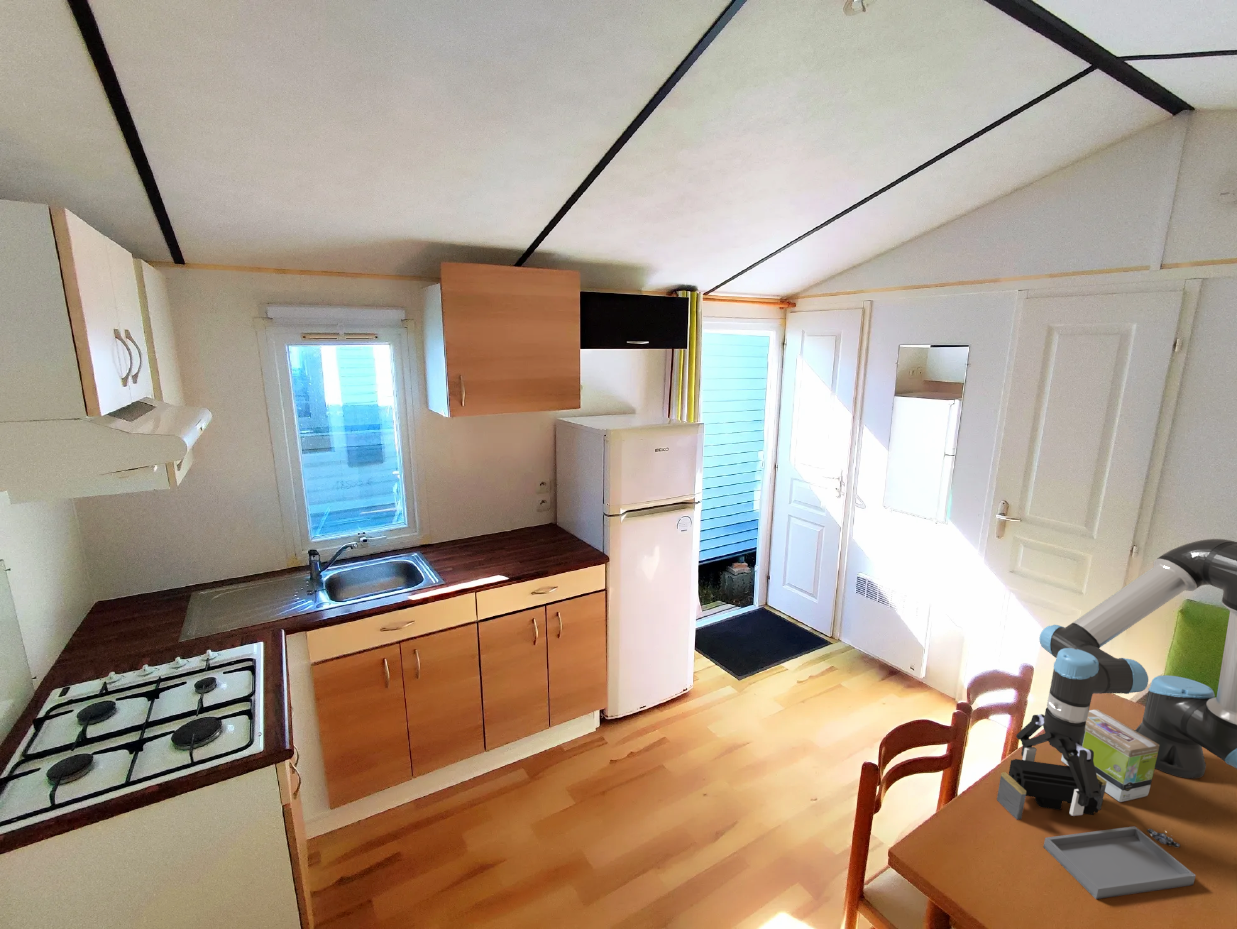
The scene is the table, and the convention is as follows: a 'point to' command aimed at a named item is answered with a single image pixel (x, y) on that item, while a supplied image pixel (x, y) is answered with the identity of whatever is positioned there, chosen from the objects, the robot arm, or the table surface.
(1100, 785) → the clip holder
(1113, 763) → the tea box
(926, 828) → the table surface
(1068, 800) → the security camera
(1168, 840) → the blueberries
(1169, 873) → the tray
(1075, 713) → the robot arm
